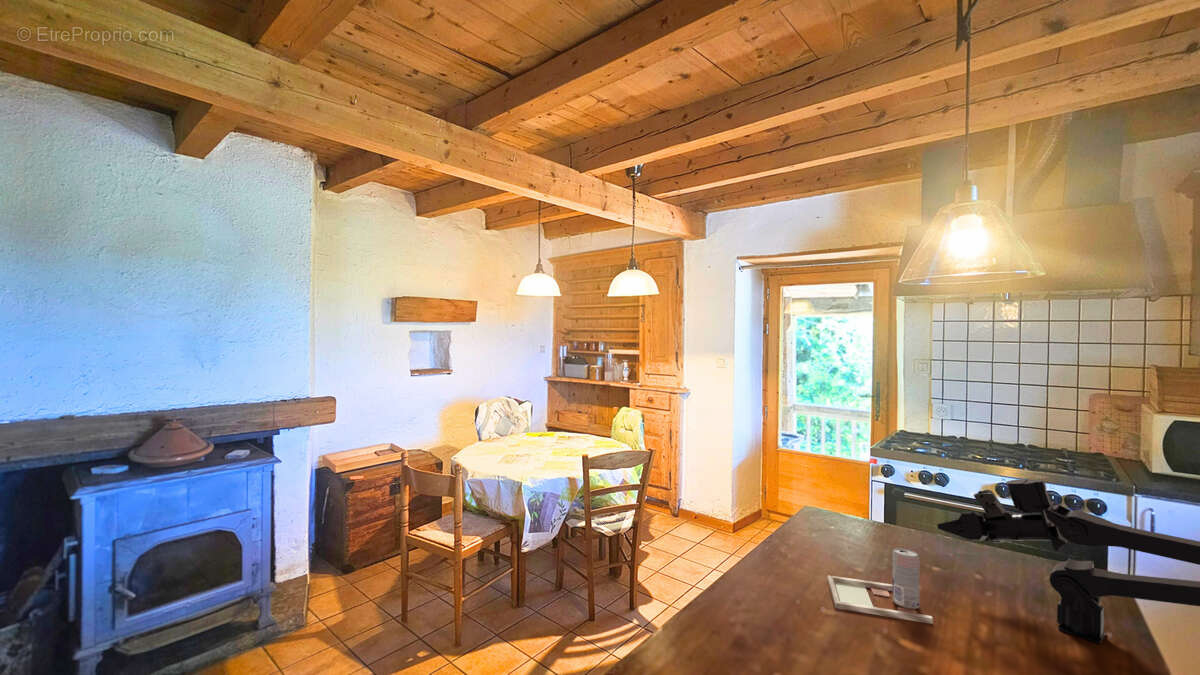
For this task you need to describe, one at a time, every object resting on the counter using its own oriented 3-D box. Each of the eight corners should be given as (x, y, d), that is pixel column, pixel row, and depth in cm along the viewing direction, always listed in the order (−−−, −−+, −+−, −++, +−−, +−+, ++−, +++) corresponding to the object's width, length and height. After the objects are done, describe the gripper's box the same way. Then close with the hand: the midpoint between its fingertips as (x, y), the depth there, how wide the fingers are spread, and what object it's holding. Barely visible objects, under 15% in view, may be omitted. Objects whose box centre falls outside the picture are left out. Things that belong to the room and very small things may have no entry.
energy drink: (911, 599, 119) (911, 548, 119) (924, 610, 113) (923, 557, 114) (888, 597, 119) (888, 547, 120) (899, 608, 114) (899, 555, 115)
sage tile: (865, 587, 124) (865, 586, 124) (875, 612, 113) (875, 611, 113) (834, 582, 127) (834, 582, 127) (841, 606, 115) (841, 606, 115)
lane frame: (914, 592, 122) (914, 587, 122) (932, 623, 109) (932, 618, 109) (827, 579, 128) (827, 575, 128) (835, 608, 115) (835, 602, 115)
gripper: (1023, 494, 122) (951, 497, 133) (998, 486, 111) (922, 490, 123) (1037, 543, 118) (961, 542, 129) (1013, 540, 107) (933, 539, 118)
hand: (945, 527), depth 125 cm, fingers open, 9 cm apart
